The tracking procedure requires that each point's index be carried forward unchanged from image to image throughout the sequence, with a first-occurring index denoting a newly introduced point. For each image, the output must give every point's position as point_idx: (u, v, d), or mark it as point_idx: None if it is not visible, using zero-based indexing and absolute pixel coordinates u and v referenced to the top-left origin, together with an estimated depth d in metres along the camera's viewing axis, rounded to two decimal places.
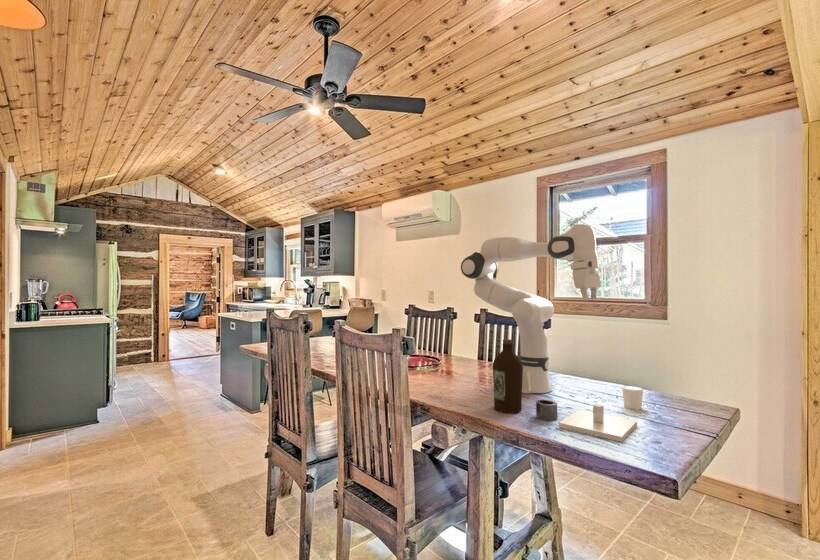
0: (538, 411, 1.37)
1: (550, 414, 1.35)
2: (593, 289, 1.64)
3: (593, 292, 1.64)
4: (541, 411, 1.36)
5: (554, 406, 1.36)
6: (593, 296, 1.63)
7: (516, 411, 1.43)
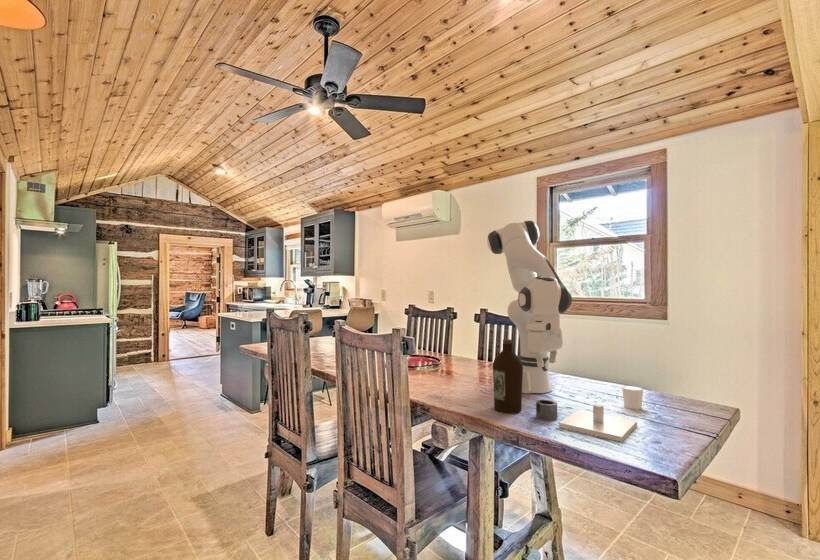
0: (538, 411, 1.37)
1: (550, 414, 1.35)
2: (553, 351, 1.42)
3: (552, 354, 1.42)
4: (541, 411, 1.36)
5: (554, 406, 1.36)
6: (552, 359, 1.41)
7: (516, 411, 1.43)
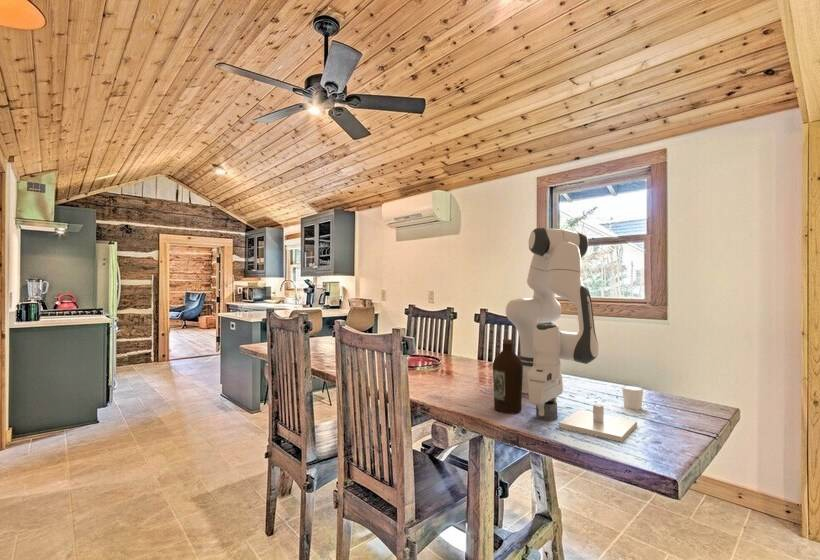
0: (538, 411, 1.37)
1: (550, 414, 1.35)
2: (552, 397, 1.42)
3: None
4: None
5: (554, 406, 1.36)
6: None
7: (516, 411, 1.43)
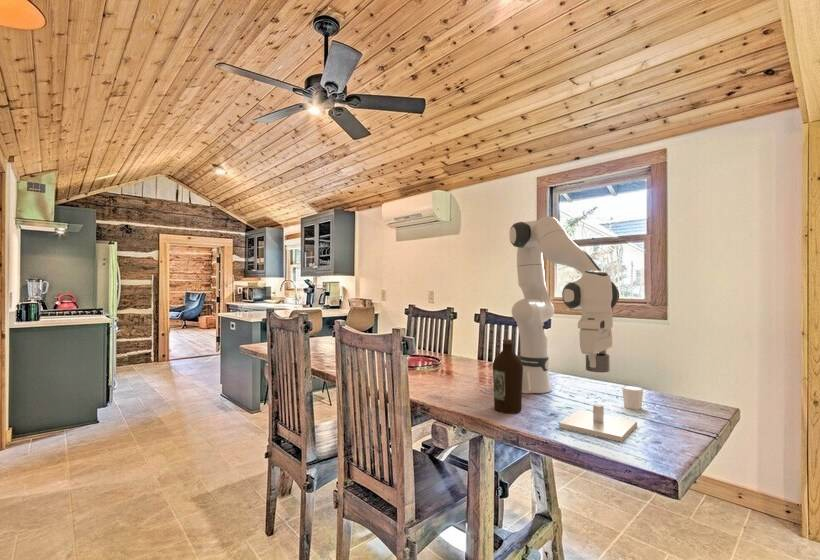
0: (589, 363, 1.28)
1: (603, 366, 1.26)
2: (602, 350, 1.33)
3: None
4: None
5: (607, 357, 1.27)
6: None
7: (516, 411, 1.43)
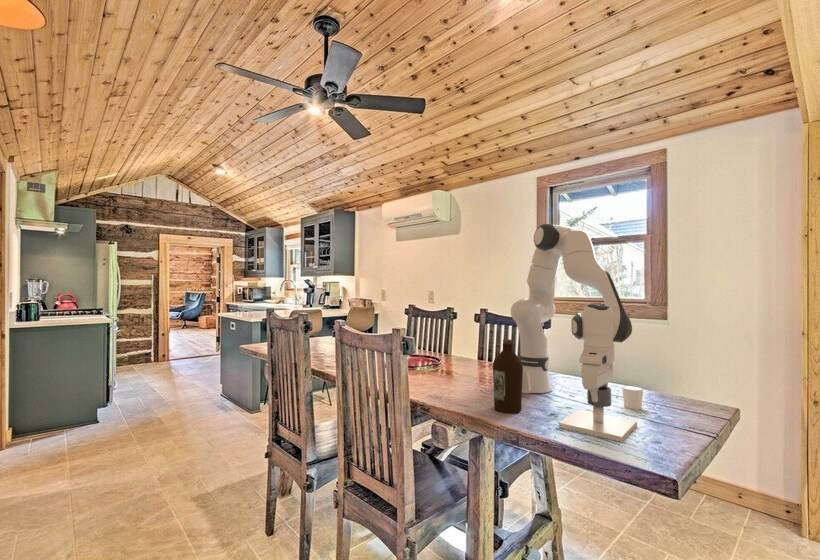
0: (591, 397, 1.28)
1: (604, 400, 1.26)
2: (603, 383, 1.33)
3: None
4: None
5: (608, 391, 1.27)
6: None
7: (516, 411, 1.43)
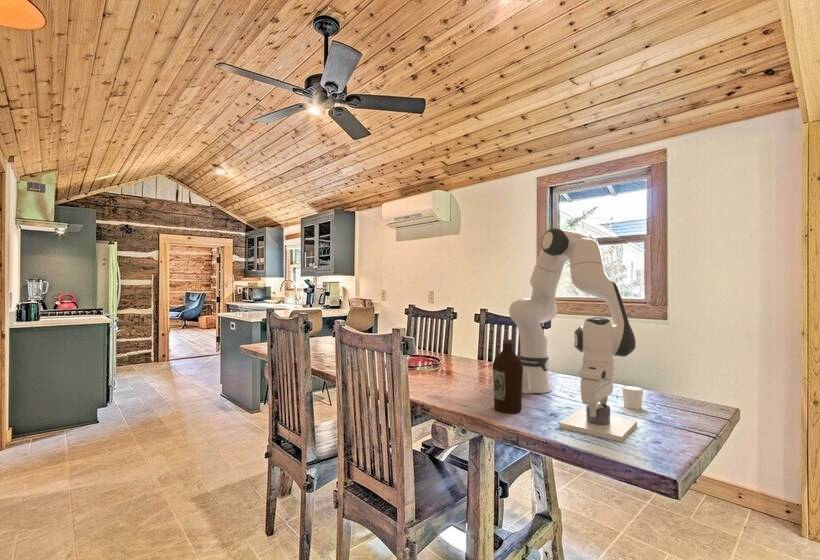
0: None
1: (603, 418, 1.26)
2: None
3: (603, 400, 1.33)
4: None
5: (607, 410, 1.27)
6: None
7: (516, 411, 1.43)
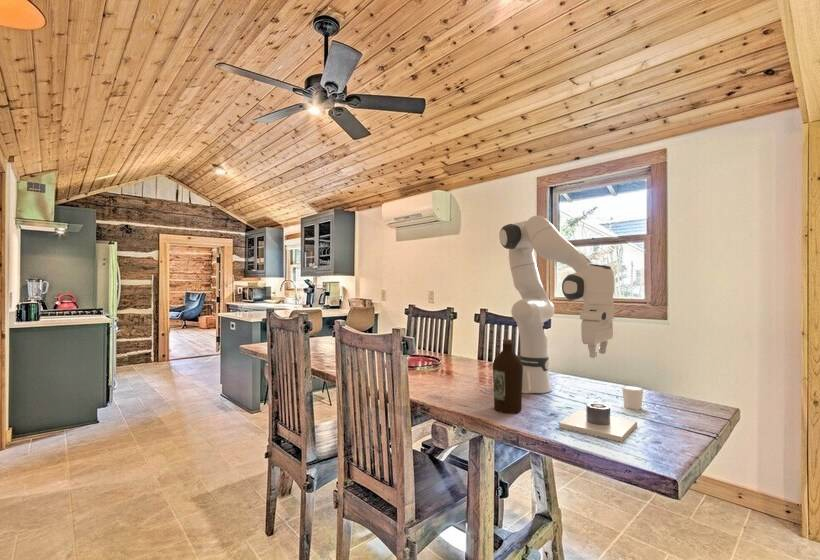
0: (590, 415, 1.28)
1: (603, 418, 1.26)
2: (603, 341, 1.37)
3: (603, 345, 1.37)
4: (593, 415, 1.27)
5: (607, 410, 1.27)
6: (602, 350, 1.36)
7: (516, 411, 1.43)
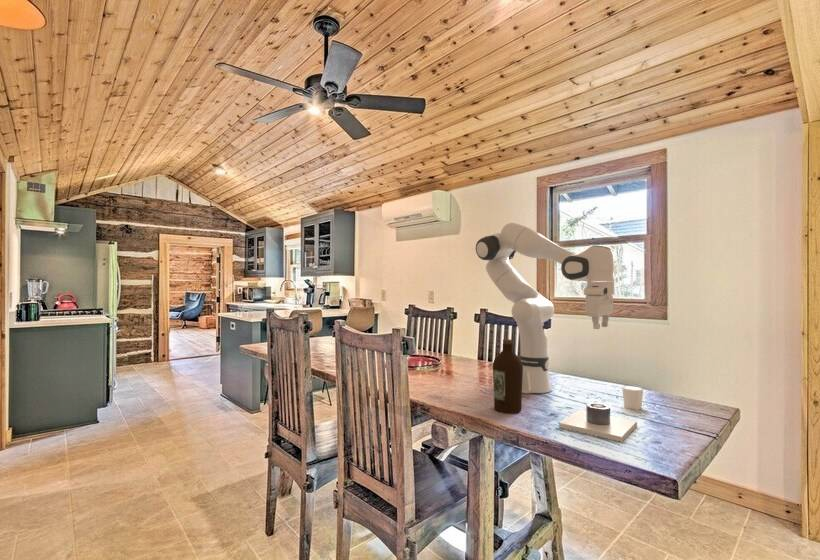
0: (590, 415, 1.28)
1: (603, 418, 1.26)
2: (605, 316, 1.52)
3: (605, 319, 1.52)
4: (593, 415, 1.27)
5: (607, 410, 1.27)
6: (604, 323, 1.51)
7: (516, 411, 1.43)
